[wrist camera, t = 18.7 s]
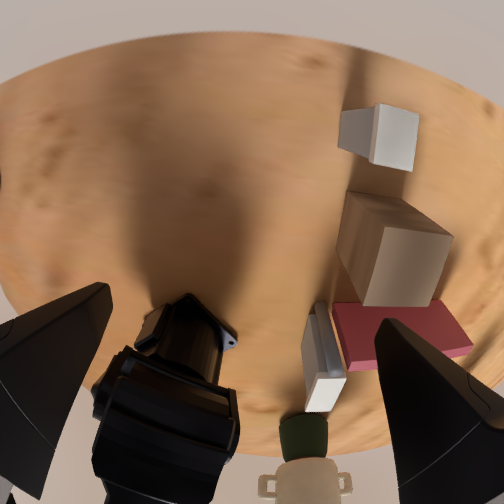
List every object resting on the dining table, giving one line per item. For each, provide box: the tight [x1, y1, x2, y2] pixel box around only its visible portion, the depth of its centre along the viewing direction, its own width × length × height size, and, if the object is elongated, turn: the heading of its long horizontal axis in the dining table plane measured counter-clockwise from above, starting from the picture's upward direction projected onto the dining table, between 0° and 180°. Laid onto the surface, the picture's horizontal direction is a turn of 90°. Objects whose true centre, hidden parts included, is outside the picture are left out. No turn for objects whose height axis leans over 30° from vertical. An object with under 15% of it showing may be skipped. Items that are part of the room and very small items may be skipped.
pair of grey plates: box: [301, 103, 419, 412], centre depth 17 cm, size 20×2×7 cm, turn 176°
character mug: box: [258, 414, 353, 504], centre depth 25 cm, size 11×7×13 cm, turn 83°
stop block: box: [336, 191, 454, 307], centre depth 16 cm, size 4×4×7 cm
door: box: [332, 300, 473, 372], centre depth 19 cm, size 11×2×6 cm, turn 89°
